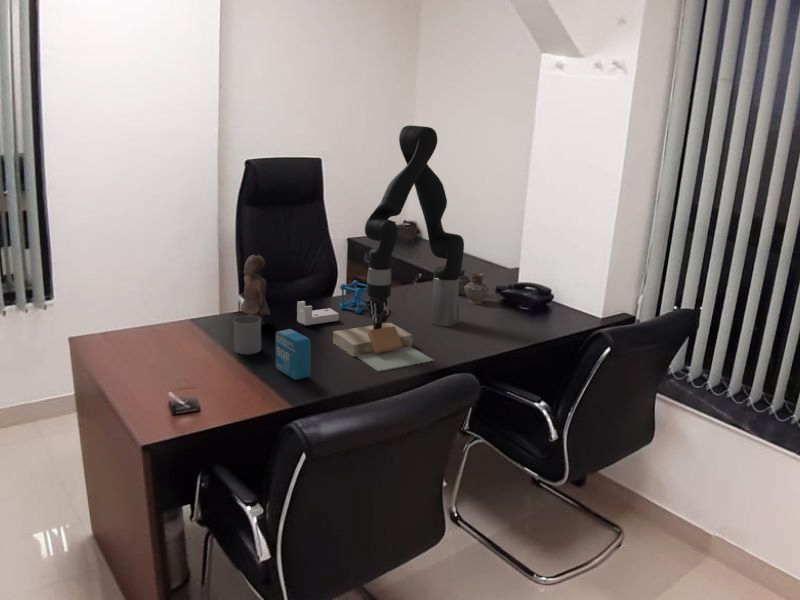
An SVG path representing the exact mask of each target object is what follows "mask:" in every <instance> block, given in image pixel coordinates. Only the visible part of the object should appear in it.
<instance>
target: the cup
mask: <svg viewBox="0 0 800 600" xmlns="http://www.w3.org/2000/svg"><path fill="white" fill-rule="evenodd" d="M232 321H233V347H234V348H233V351H234V353H236V354H239V353H240V355H253V354H257V353H259V352H261V351H262V325H261V319H260V318H259V317H257V316H251V315H249V314H246V315H239V316H236V317H234V318H233V320H232Z"/></svg>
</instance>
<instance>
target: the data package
mask: <svg viewBox="0 0 800 600" xmlns="http://www.w3.org/2000/svg"><path fill="white" fill-rule="evenodd" d="M311 345H312V344H311V340H310V339H309V337H307V336H305V335H303V334H301V333H299V332H298V331H295V330H293V329H291V328H287V329H283V330H279V331H276V333H275V368H276V369H277V370H278V371H280V372H281V373H282V374H284V375H286V376H288V377H289V378H291V379H293V380H295V381H297V380H303V379H305V378H309V377H310V376H311V350H312V349H311Z"/></svg>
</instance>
